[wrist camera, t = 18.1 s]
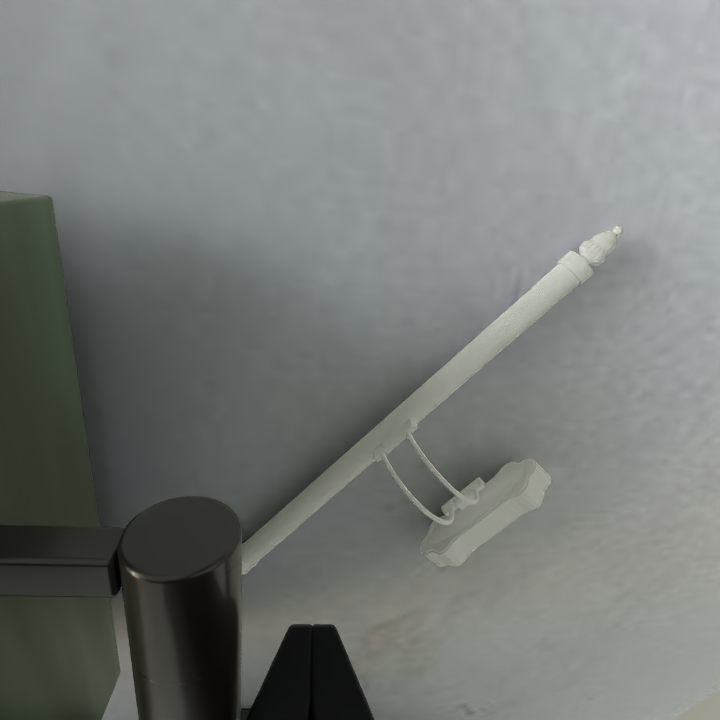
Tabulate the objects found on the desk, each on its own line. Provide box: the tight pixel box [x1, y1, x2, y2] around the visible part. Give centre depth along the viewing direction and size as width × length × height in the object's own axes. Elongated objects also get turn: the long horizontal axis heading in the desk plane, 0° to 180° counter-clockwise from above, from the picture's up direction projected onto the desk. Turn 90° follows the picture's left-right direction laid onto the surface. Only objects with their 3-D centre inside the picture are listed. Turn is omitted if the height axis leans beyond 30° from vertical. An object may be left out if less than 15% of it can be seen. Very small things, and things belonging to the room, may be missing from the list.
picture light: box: [242, 226, 623, 574], centre depth 12 cm, size 14×4×2 cm, turn 135°
